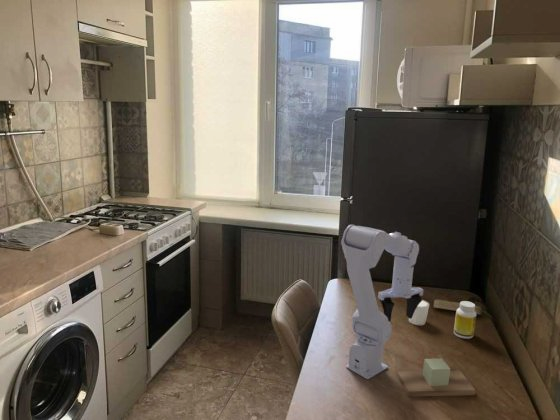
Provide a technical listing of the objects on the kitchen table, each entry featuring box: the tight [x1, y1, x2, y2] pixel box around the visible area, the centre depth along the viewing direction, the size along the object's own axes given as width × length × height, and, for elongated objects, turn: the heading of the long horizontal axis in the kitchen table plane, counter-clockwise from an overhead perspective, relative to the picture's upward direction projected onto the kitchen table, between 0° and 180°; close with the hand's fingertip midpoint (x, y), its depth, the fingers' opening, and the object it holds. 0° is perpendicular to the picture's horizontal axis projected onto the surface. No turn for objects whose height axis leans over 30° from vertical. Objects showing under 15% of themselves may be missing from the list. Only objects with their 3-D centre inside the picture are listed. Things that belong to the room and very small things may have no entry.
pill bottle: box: [453, 300, 477, 340], centre depth 153 cm, size 6×6×11 cm
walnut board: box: [396, 370, 476, 398], centre depth 126 cm, size 9×18×2 cm, turn 95°
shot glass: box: [408, 299, 430, 326], centre depth 162 cm, size 7×7×7 cm
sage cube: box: [422, 357, 451, 386], centre depth 126 cm, size 5×5×5 cm
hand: (398, 318), depth 144 cm, fingers open, 7 cm apart
